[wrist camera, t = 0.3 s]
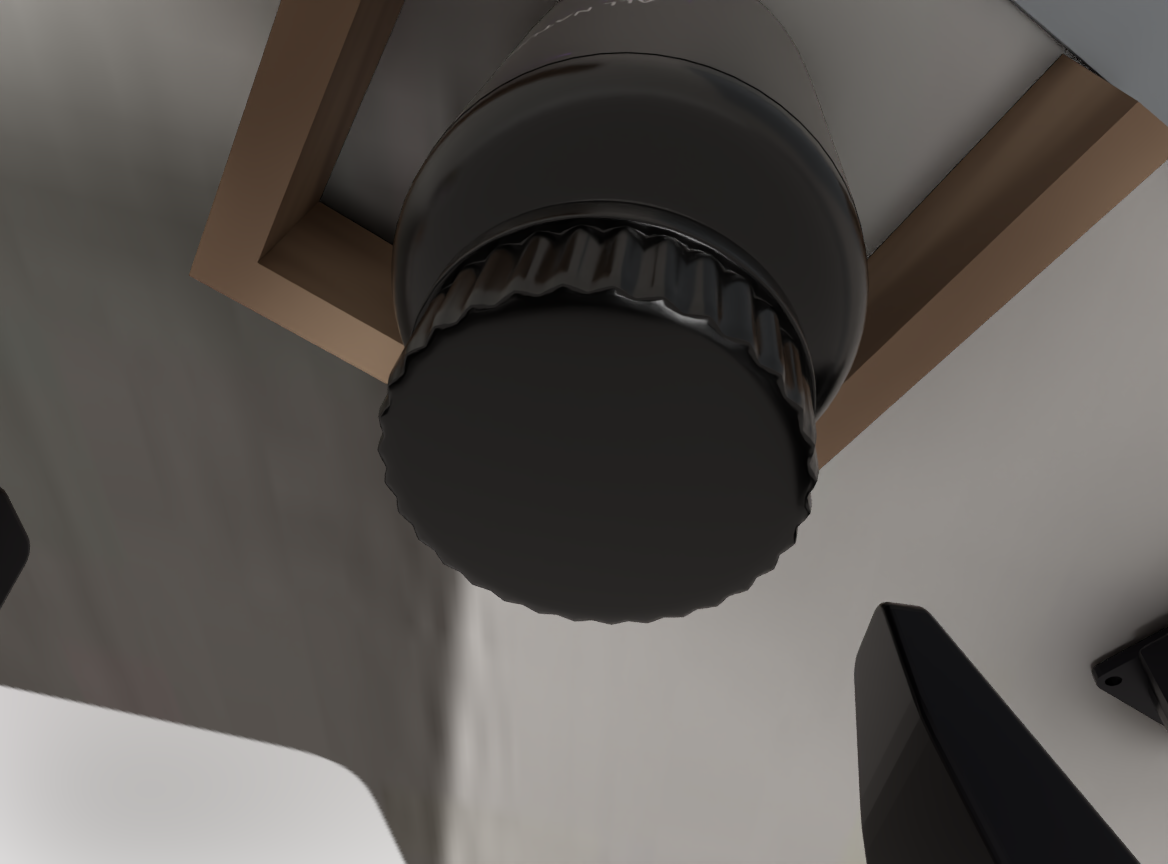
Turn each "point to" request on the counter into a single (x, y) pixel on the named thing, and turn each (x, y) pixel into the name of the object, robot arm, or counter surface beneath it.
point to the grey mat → (1114, 42)
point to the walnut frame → (896, 269)
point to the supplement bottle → (624, 313)
